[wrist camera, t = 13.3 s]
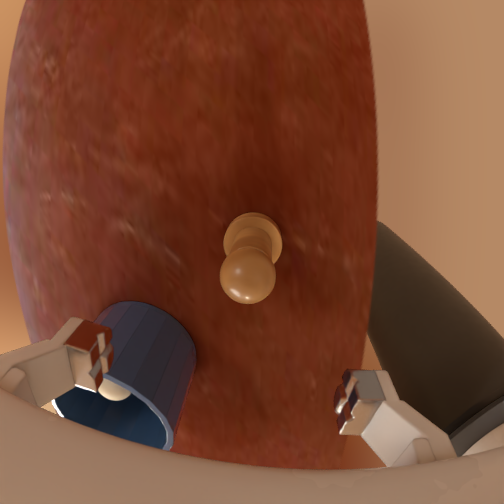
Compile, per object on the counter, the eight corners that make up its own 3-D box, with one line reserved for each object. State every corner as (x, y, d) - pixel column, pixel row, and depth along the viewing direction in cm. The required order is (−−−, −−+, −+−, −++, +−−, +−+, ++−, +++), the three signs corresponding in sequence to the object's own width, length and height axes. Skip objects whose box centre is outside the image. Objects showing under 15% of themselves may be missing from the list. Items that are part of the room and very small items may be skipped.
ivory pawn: (164, 319, 25) (131, 382, 18) (163, 356, 27) (135, 419, 19) (119, 308, 25) (77, 365, 18) (121, 345, 27) (86, 403, 19)
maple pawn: (286, 218, 22) (294, 258, 15) (275, 269, 24) (277, 328, 17) (230, 207, 22) (211, 243, 15) (221, 260, 24) (201, 315, 17)
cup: (201, 314, 25) (174, 392, 17) (193, 397, 29) (173, 470, 21) (91, 289, 25) (35, 348, 17) (100, 373, 29) (63, 434, 20)
